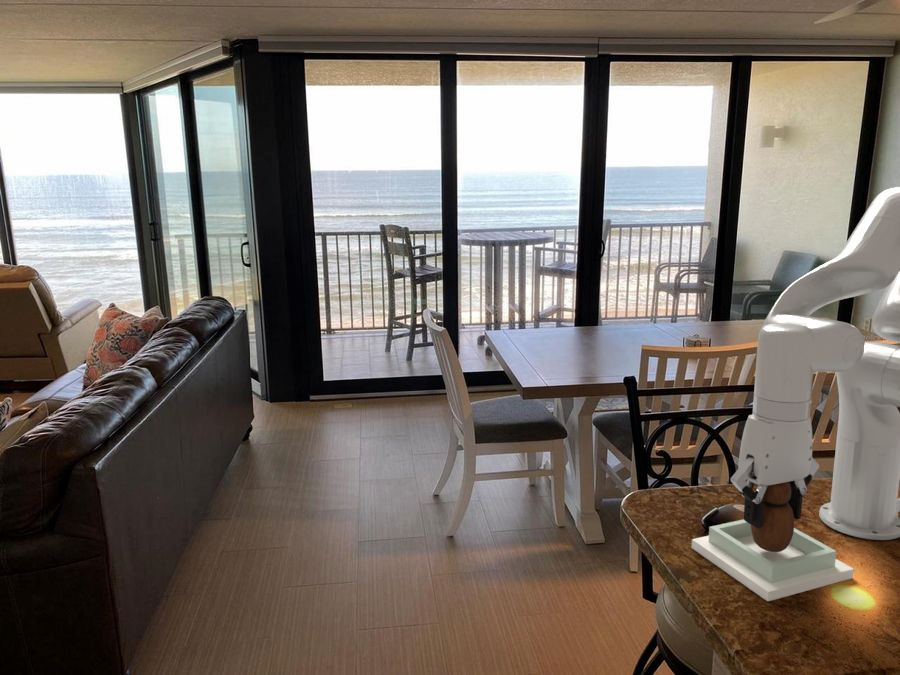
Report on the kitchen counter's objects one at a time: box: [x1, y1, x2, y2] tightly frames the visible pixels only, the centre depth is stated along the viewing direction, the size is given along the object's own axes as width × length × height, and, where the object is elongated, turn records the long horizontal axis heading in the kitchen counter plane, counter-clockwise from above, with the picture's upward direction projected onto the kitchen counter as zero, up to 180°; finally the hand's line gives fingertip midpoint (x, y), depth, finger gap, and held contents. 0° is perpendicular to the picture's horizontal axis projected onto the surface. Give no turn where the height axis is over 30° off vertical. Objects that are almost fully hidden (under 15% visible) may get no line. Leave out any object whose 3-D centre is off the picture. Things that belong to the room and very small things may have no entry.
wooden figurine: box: [751, 482, 795, 552], centre depth 103 cm, size 7×6×15 cm
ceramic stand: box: [691, 518, 855, 602], centre depth 104 cm, size 16×16×4 cm
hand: (772, 518), depth 103 cm, fingers closed on wooden figurine, 6 cm apart
